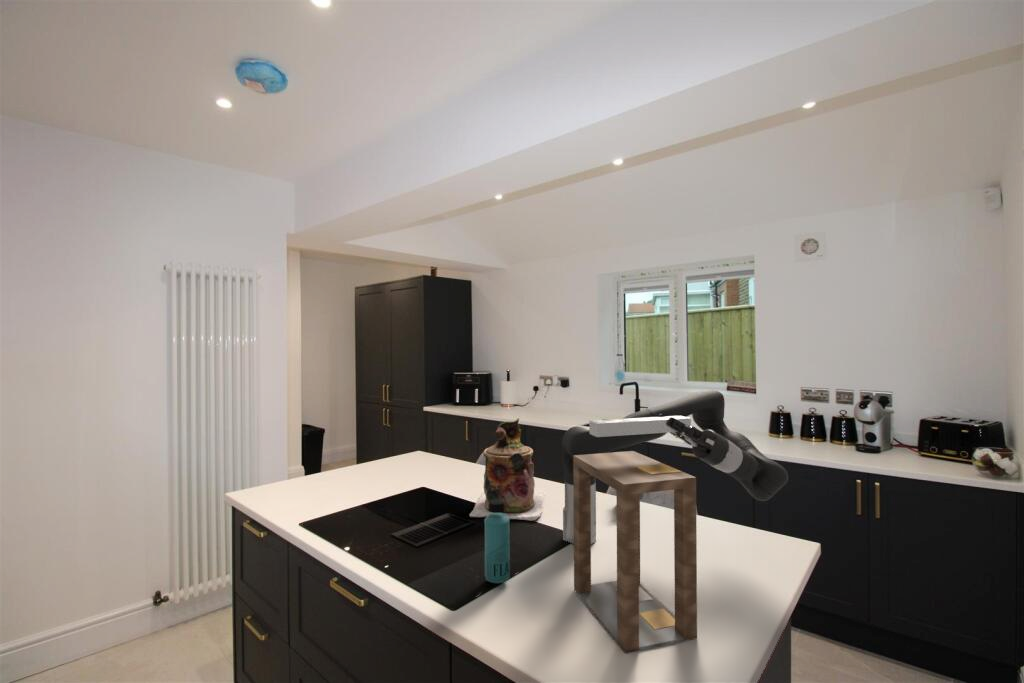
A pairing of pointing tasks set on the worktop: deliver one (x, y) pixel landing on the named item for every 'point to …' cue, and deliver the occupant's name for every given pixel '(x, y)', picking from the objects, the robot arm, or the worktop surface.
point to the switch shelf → (636, 551)
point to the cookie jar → (510, 477)
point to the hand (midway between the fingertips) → (664, 419)
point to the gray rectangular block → (633, 426)
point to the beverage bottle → (497, 543)
